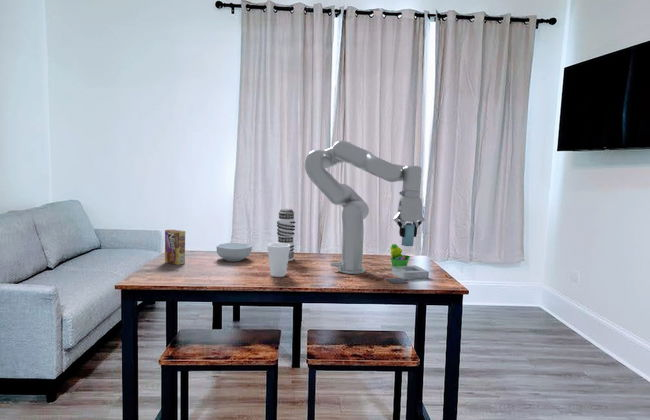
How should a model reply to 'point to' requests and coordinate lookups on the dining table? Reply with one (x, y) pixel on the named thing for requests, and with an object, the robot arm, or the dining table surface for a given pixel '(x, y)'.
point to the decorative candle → (286, 229)
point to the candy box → (175, 247)
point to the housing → (410, 272)
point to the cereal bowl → (234, 251)
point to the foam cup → (278, 258)
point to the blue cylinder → (408, 235)
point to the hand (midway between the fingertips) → (407, 236)
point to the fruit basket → (398, 256)
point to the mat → (396, 281)
